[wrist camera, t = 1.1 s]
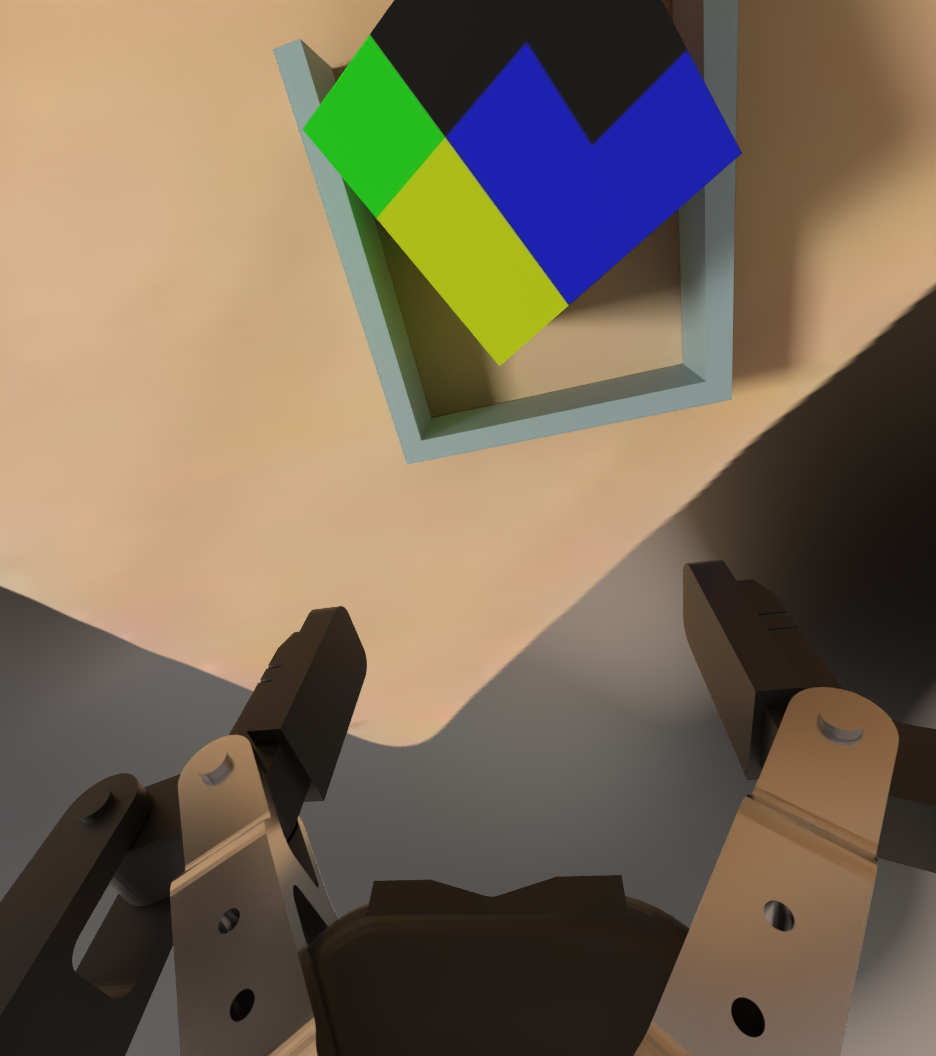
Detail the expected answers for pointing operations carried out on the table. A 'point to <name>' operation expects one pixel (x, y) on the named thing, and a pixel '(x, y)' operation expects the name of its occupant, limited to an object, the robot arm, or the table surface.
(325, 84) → the grey-blue flat square frame
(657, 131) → the puzzle toy
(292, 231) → the table surface
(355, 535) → the table surface
